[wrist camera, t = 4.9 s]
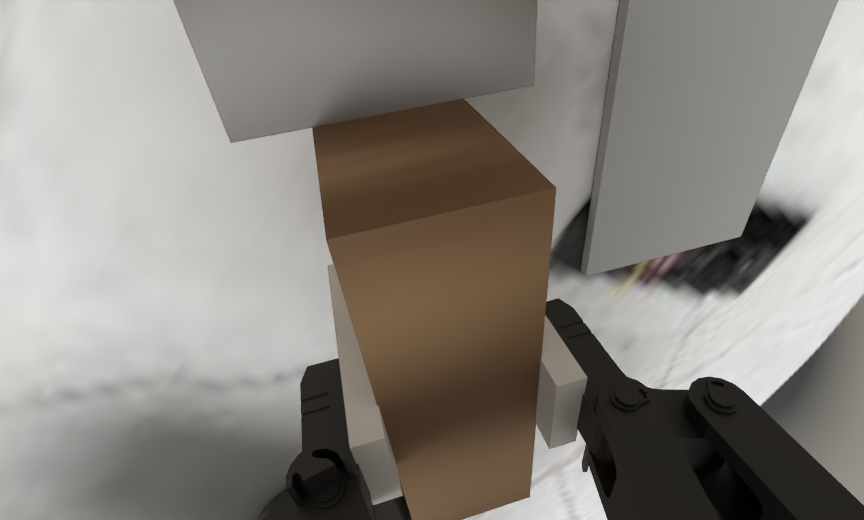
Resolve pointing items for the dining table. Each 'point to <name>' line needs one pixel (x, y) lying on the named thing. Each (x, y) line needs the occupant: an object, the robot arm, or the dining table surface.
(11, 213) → the dining table surface
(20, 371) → the dining table surface
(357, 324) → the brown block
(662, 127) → the rest mat
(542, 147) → the dining table surface
